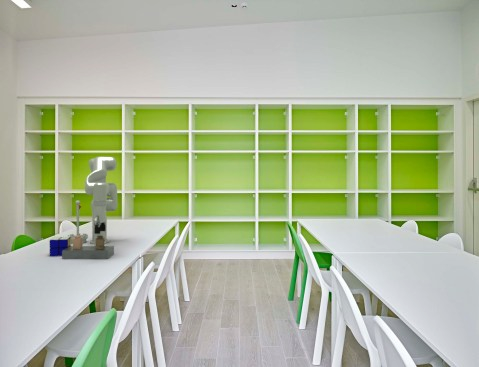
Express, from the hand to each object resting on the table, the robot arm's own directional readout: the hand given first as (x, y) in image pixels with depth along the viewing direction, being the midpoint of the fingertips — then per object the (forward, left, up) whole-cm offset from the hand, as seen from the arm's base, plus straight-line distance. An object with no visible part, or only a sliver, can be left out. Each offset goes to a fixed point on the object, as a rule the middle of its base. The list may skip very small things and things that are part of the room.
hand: (100, 232), depth 210 cm
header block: (-1, -7, -15) cm, 16 cm away
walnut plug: (-1, 0, -14) cm, 14 cm away
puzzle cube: (-7, -26, -15) cm, 30 cm away
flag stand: (-42, -29, -15) cm, 53 cm away
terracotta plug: (-1, -13, -14) cm, 19 cm away
